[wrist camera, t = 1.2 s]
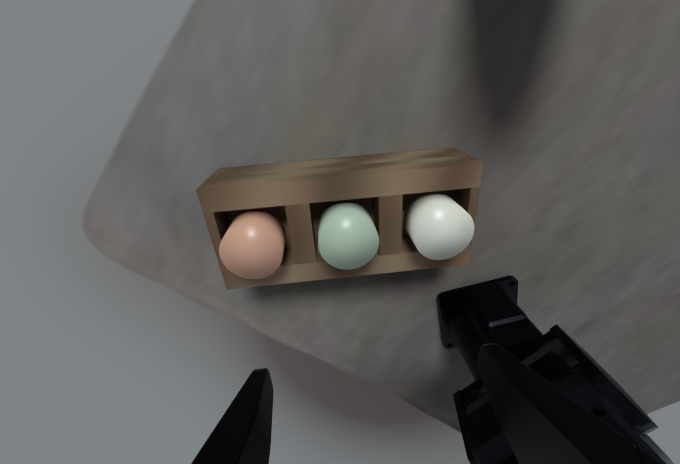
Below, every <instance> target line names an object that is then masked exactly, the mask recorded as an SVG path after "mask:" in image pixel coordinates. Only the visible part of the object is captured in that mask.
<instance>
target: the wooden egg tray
mask: <svg viewBox="0 0 680 464" xmlns="http://www.w3.org/2000/svg"><path fill="white" fill-rule="evenodd" d="M483 166H484V163H482V162H480V161H478V160H476V159H474V158H472V157H470V156H468V155H466V154H464V153H462V152H460V151H458V150H456V149H454V148H443V149H432V150H421V151H410V152H398V153H387V154H376V155H365V156H354V157H342V158H331V159H320V160H309V161H297V162H286V163H275V164H264V165H253V166H241V167H230V168H219V169H217V170H216V171H215V172H214V173H213V174H212V175H211V176H210V177H209V178H208V179H207V180H206V181H205V182H204V183H203V184H202V185H201V186H200V187H199V188H198V189H197V190H196V191H197V194H198V198H199V201H200V204H201V207H202V210H203V214H204V217H205V220H206V223H207V226H208V230H209V233H210V236H211V239H212V243H213V246H214V249H215V252H216V255H217V259H218V262H219V265H220V268H221V272H222V275H223V278H224V281H225V284H226V288H227V289H237V288H246V287H256V286H266V285H275V284H285V283H295V282H304V281H314V280H324V279H333V278H343V277H352V276H362V275H372V274H381V273H391V272H401V271H410V270H420V269H430V268H439V267H449V266H459V265H468V262H469V256H470V249H471V243H472V239H471V241H470V243H469V244H468V246H467V247H466V248H465V249H464V250H463V251H462V252H460V253H459V254H457V255H456V256H454V257H451V258H449V259H444V260H433V259H429V258H427V257H425V256H423V255H422V254H421V253H420V252H419V251H418V249H417V248H416V246H415V244H414V243H413V241H412V239H411V238H410V236H409V234H408V233H407V231H406V229H405V226H404V215H405V212H406V209H407V207H408V206H409V205H410V203H411V202H412V201H413V200H414V199H416V198H417V197H419V196H420V195H422V194H425V193H428V192H441V193H444V194H446V195H448V196H449V197H451V198H452V199H453V200H454V201H455V202H456V203H457V204H458V205H460V206H461V207H462V208H463V209H464V210H465V211H466V212H468V213H469V215H470V216H471V217H472V219H473V222H474V224H475V217H476V211H477V204H478V198H479V192H480V185H481V179H482V172H483ZM342 200H350V201H355V202H357V203H359V204H361V205H363V206H364V207H365V208H366V209H367V210H368V212H369V213H370V216H371V218H372V221H373V223H374V226H375V228H376V230H377V233H378V236H379V247H378V250H377V252H376V254H375V256H374V257H373V258H372V259H371V260H370V261H369V262H368V263H367V264H365V265H363V266H361V267H359V268H355V269H348V270H346V269H339V268H336V267H333V266H331V265H330V264H328V263H327V262H326V261H325V260H324V259H323V258H322V256H321V254H320V252H319V247H318V221H319V217H320V215H321V213H322V212H323V211H324V210H325V209H326V208H327V207H328V206H329V205H331V204H332V203H335V202H338V201H342ZM249 209H262V210H266V211H268V212H271V213H272V214H274V215H275V216H277V217H278V218H279V219H280V220H281V222H282V223H283V225H284V227H285V231H286V240H285V246H284V251H283V257H282V262H281V264H280V266H279V268H278V269H277V270H276V271H275V272H274V273H272V274H271V275H269V276H267V277H265V278H261V279H246V278H242V277H239V276H237V275H235V274H233V273H232V272H230V271H229V270H228V269H227V268H226V267H225V266H224V264H223V263H222V261H221V258H220V255H219V246H220V243H221V241H222V239H223V237H224V235H225V233H226V232H227V230H228V228H229V226H230V224H231V223H232V221H233V219H234V218H235V217H236V216H237V215H238V214H240V213H241V212H243V211H246V210H249Z"/></svg>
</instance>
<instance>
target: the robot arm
mask: <svg viewBox="0 0 680 464" xmlns="http://www.w3.org/2000/svg"><path fill="white" fill-rule="evenodd" d="M517 293H518V280H517V279H516V278H515V277H514V276H507V277H503V278H498V279H494V280H490V281H486V282H482V283H478V284H474V285H470V286H466V287H462V288H457V289H453V290H449V291H445V292H442V293H440V294H439V295H438V297H437V299H438V307H439V316H440V324H441V332H442V341H443V345H444V347H445V348H446V349H452V348H456V347H458V349H459V351H460V352H461V354H462V356H463V358H464V360H465V362H466V364H467V366H468V368H469V369H470V371H471V373H472V375H473V377H474V379H475V381H474V382H473V383H471V384H470V385H468V386H467V387H466V388H464V389H463V390H461V391H460V390H458V391H457V392H456V393H454V394H453V397H454V401H455V406H456V411H457V415H458V419H459V423H460V428H461V432H462V436H463V440H464V444H465V449H466V453H467V457H468V460H469V462H470V463H471V464H674V463H673V462H672V461H671V459H670V458H669V457H668V456H667V455H666V454H665V453H664V452H663V451H662V450H661V449H660V448H659V446H658V445H657V444H656V443H655V442H654V441H653V440H652V439H651V438H650V437H649V436H648V435H647V434H646V433H649V432H651V431H653V430H655V429H657V428H658V426H657V425H656V424H655V423H654V422H653V421H652V420H651V419H650V418H649V417H648V415H647V414H646V413H645V412H644V411H643V410H642V409H641V408H640V407H639V406H638V405H637V404H636V402H635V401H634V400H633V399H632V398H631V397H630V396H629V395H628V394H627V393H626V392H625V391H624V389H623V388H622V387H621V386H620V385H619V384H618V383H617V382H616V381H615V380H614V379H613V378H612V377H611V376H610V375H609V374H608V373H607V372H606V371H605V370H604V369H603V368H602V367H601V366H600V365H599V364H598V363H597V362H596V361H595V360H594V359H593V358H592V357H591V356H590V355H589V354H588V353H587V352H586V351H585V350H584V349H583V348H581V347H580V346H579V345H578V344H577V343H576V342H575V341H574V340H573V339H572V338H571V337H570V336H569V335H567V334H566V333H565V332H564V331H563V330H562V329H561V328H560V327H559V326H558V325H557V324H556V325H555V326H553V327H552V328H550V331H549V332H547V333H546V334H544V335H543V334H542V333H541V332H540V331H539V330H538V329H537V328H536V326H535V325H534V324H533V323H532V322H531V321H530V320H529V319H528V317H527V316H526V314H525V313H524V312H523V311H522V310H521V308H520V307H519V306H518V305H517ZM445 297H446V298H445ZM443 298H445V299H443ZM272 408H273V385H272V381H271V377H270V373H269V370H268V369H267V368H263V369H255V370H254V371H253V372H252V373H251V374H250V376H249V377H248V379H247V380H246V382H245V383H244V385H243V386H242V388H241V389H240V391H239V392H238V394H237V396H236V397H235V398H234V400H233V401H232V403H231V405H230V406H229V408H228V409H227V411H226V412H225V414H224V415H223V417H222V418H221V420H220V421H219V423H218V424H217V426H216V427H215V429H214V430H213V432H212V433H211V435H210V436H209V438H208V439H207V441H206V442H205V444H204V445H203V447H202V448H201V450H200V451H199V453H198V454H197V456H196V457H195V459H194V460H193V462H192V464H268V463H269V455H270V444H271V428H272V427H271V426H272Z"/></svg>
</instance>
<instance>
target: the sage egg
mask: <svg viewBox="0 0 680 464" xmlns="http://www.w3.org/2000/svg"><path fill="white" fill-rule="evenodd" d="M318 247H319V252H320V254H321V256H322V258H323V259H324V260H325V261H326V262H327V263H328V264H330V265H331V266H333V267H336V268H339V269H346V270H348V269H355V268H359V267H361V266H363V265H365V264H367V263H368V262H369V261H370V260H371V259H372V258H373V257H374V256H375V254H376V252H377V250H378V247H379V236H378V233H377V230H376V228H375V226H374V223H373V221H372V218H371V216H370V213H369V212H368V210H367V209H366V208H365V207H364V206H363V205H361V204H359V203H357V202H355V201H350V200H342V201H338V202H335V203H332V204H331V205H329V206H328V207H327V208H326V209H325V210H324V211H323V212H322V213H321V215H320V217H319V221H318Z"/></svg>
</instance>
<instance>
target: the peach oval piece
mask: <svg viewBox="0 0 680 464" xmlns="http://www.w3.org/2000/svg"><path fill="white" fill-rule="evenodd" d="M285 240H286V231H285V227H284V225H283V223H282V222H281V220H280V219H279V218H278V217H277V216H275V215H274V214H272V213H271V212H268V211H266V210H262V209H249V210H246V211H243V212H241V213H240V214H238V215H237V216H236V217H235V218H234V219H233V221H232V223H231V224H230V226H229V228H228V230H227V232H226V233H225V235H224V237H223V239H222V241H221V243H220V246H219V255H220V258H221V261H222V263H223V264H224V266H225V267H226V268H227V269H228V270H229V271H230V272H232V273H233V274H235V275H237V276H239V277H242V278H246V279H261V278H265V277H267V276H269V275H271V274H272V273H274V272H275V271H276V270H277V269H278V268H279V266H280V264H281V262H282V257H283V251H284V246H285Z"/></svg>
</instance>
